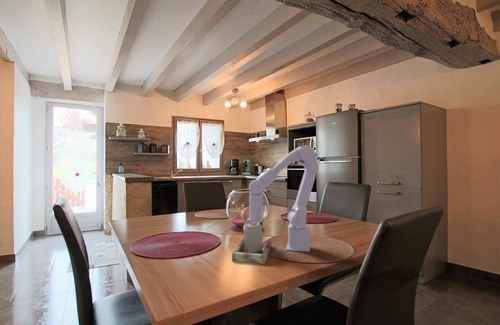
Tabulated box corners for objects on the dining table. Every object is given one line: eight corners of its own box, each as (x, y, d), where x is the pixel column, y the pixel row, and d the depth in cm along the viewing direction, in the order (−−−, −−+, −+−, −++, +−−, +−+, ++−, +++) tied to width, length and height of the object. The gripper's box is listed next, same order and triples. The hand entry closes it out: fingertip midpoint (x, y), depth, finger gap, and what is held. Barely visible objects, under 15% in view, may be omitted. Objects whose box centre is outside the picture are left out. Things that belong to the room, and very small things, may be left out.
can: (263, 243, 112) (262, 218, 109) (262, 254, 105) (260, 227, 102) (246, 243, 113) (244, 218, 110) (243, 254, 106) (241, 227, 103)
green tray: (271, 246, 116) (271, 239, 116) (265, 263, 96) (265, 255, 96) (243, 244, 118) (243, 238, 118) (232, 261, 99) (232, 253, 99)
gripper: (250, 205, 121) (249, 235, 121) (242, 211, 107) (242, 245, 107) (265, 206, 119) (265, 236, 119) (260, 212, 105) (260, 246, 105)
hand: (255, 240), depth 113 cm, fingers closed
